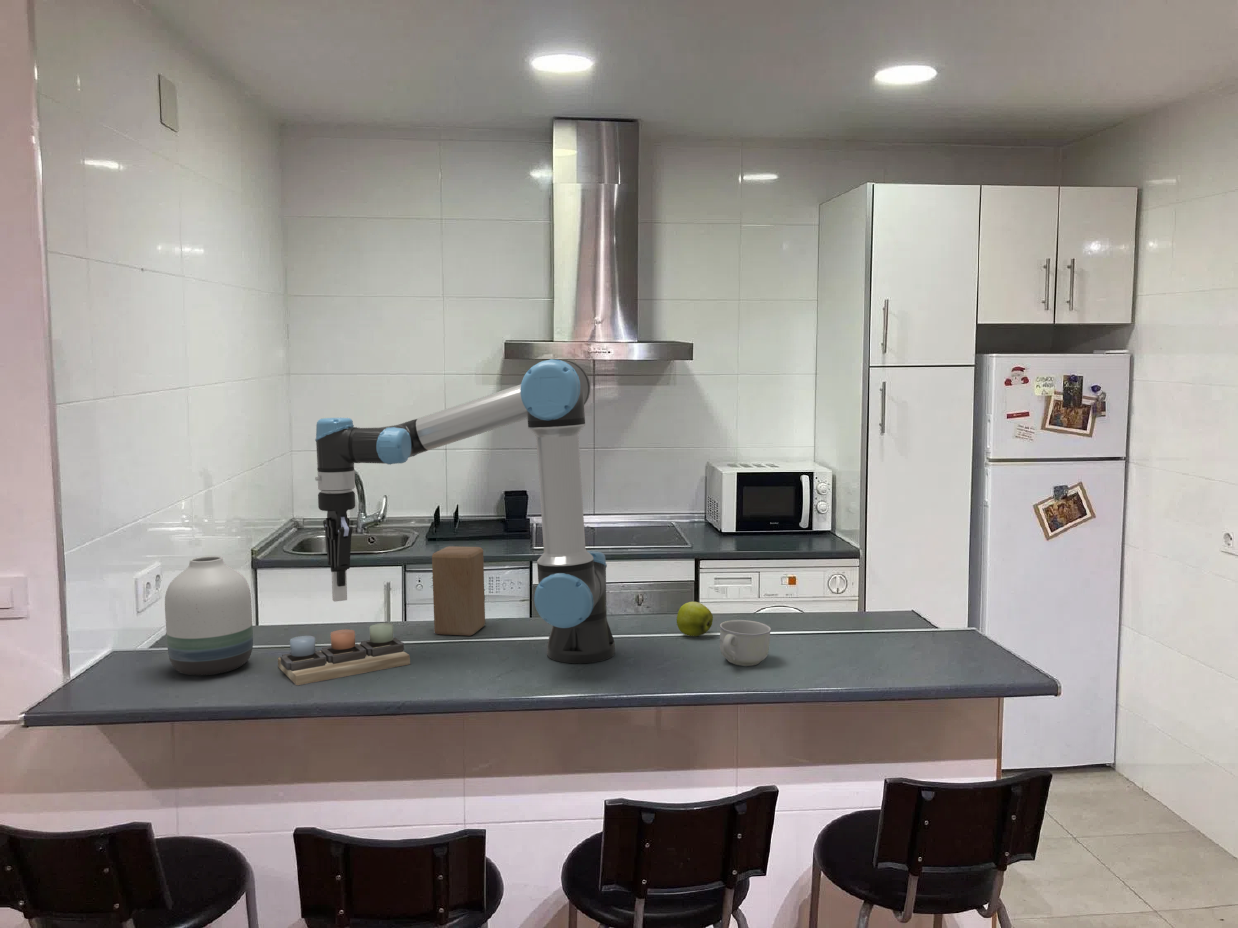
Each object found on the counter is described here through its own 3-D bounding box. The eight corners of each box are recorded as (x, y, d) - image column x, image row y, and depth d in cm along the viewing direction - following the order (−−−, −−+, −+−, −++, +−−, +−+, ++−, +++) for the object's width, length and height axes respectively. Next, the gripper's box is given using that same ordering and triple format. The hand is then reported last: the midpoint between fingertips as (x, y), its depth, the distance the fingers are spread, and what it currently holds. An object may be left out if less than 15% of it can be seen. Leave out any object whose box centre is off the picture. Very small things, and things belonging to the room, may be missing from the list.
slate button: (318, 653, 201) (317, 639, 200) (294, 657, 198) (293, 643, 198) (311, 648, 205) (311, 634, 204) (287, 652, 202) (287, 638, 202)
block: (472, 636, 227) (470, 553, 225) (433, 635, 229) (430, 552, 227) (486, 625, 237) (484, 546, 235) (448, 624, 239) (446, 545, 237)
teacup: (740, 651, 212) (740, 616, 212) (781, 661, 205) (781, 624, 204) (699, 665, 203) (699, 628, 202) (740, 676, 195) (740, 638, 194)
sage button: (396, 640, 210) (396, 626, 210) (374, 644, 207) (373, 630, 207) (388, 635, 214) (388, 622, 214) (366, 638, 211) (366, 625, 211)
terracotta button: (358, 646, 205) (357, 633, 205) (335, 650, 202) (334, 636, 202) (351, 641, 209) (350, 628, 209) (328, 645, 207) (327, 631, 206)
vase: (150, 676, 201) (143, 563, 198) (211, 654, 216) (206, 549, 214) (212, 685, 195) (206, 568, 192) (271, 661, 210) (266, 553, 208)
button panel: (412, 663, 207) (411, 648, 206) (294, 685, 193) (293, 668, 193) (388, 647, 219) (387, 632, 219) (275, 667, 206) (274, 651, 205)
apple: (685, 629, 231) (685, 596, 231) (718, 634, 226) (718, 601, 225) (668, 636, 225) (667, 603, 224) (701, 642, 220) (701, 608, 219)
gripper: (309, 488, 206) (313, 596, 208) (327, 495, 195) (331, 608, 198) (344, 486, 210) (347, 592, 212) (363, 492, 199) (366, 603, 202)
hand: (339, 600), depth 205 cm, fingers closed
